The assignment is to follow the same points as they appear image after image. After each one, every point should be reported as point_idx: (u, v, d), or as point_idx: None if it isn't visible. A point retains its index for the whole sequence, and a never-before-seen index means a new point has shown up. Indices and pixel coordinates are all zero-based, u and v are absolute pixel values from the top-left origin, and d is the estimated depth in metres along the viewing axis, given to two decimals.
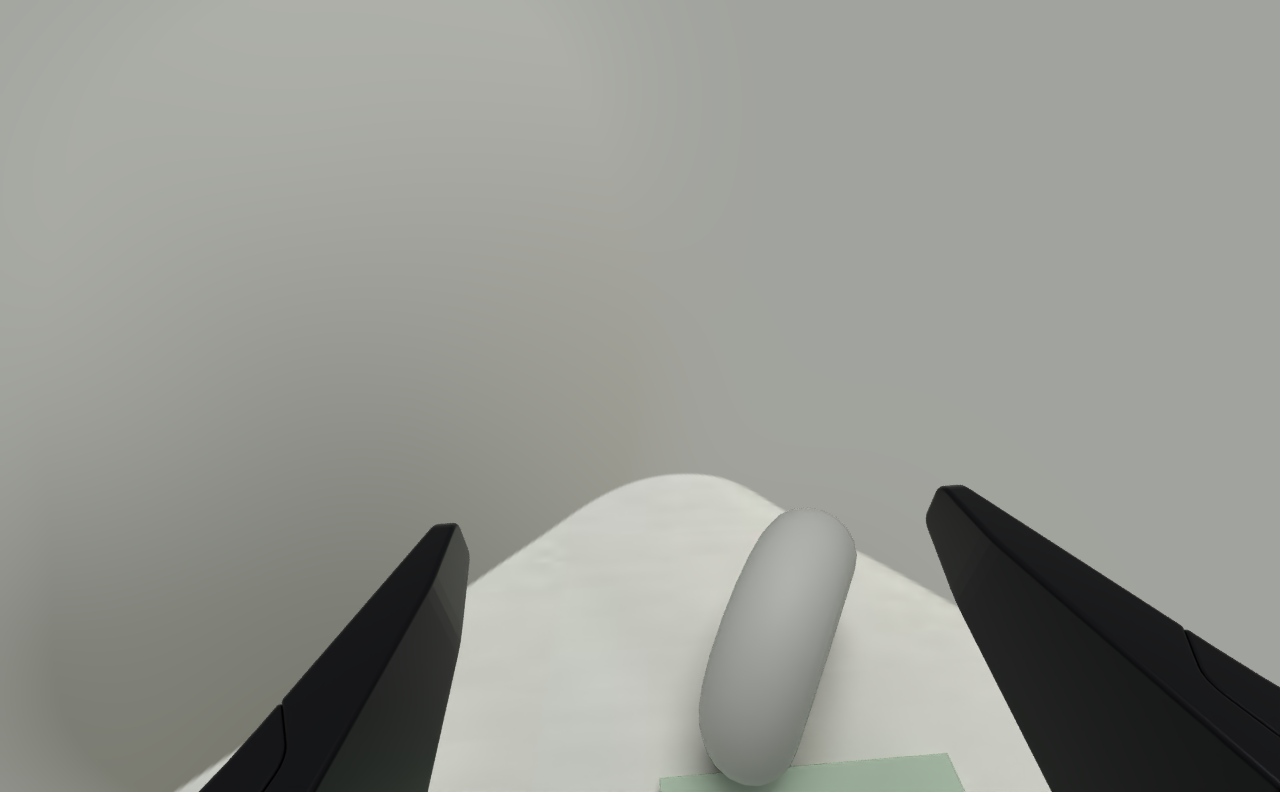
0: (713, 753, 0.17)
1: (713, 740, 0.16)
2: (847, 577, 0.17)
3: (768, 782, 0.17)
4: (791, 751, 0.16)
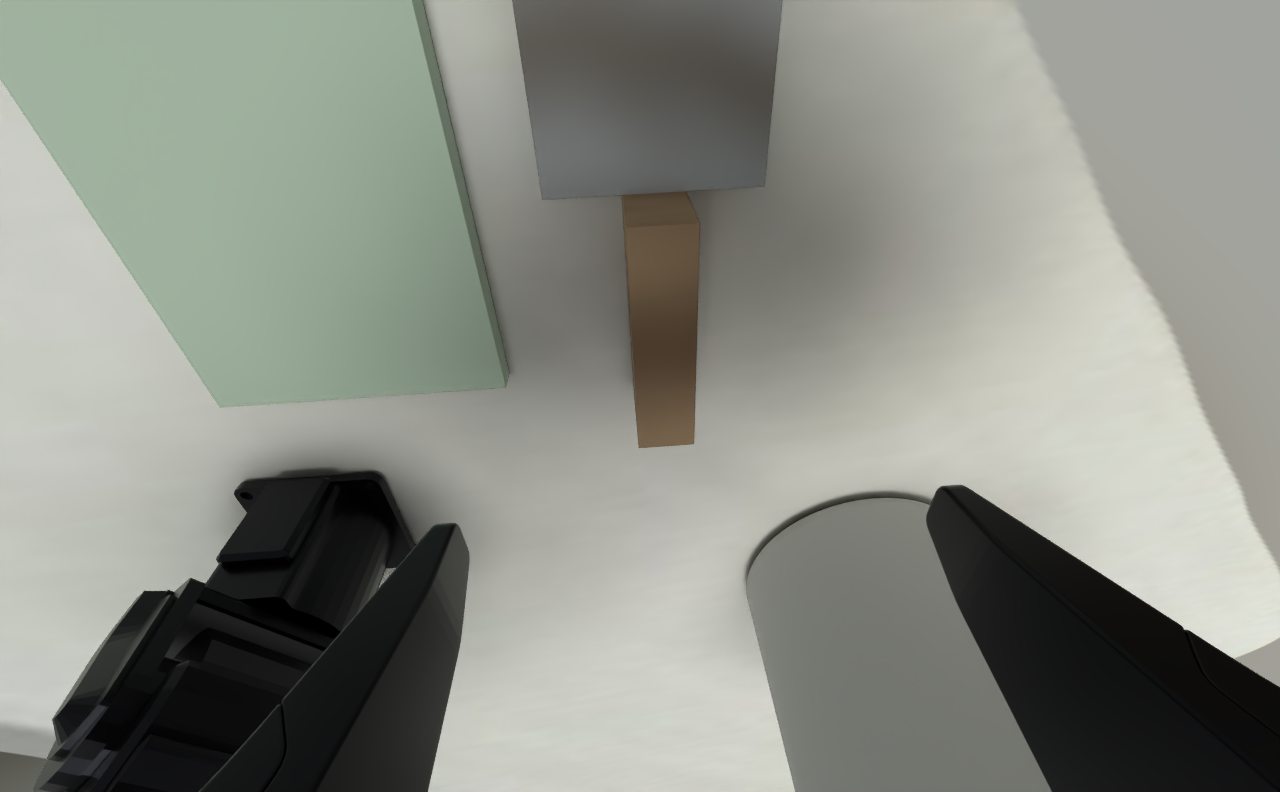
0: None
1: None
2: None
3: None
4: None
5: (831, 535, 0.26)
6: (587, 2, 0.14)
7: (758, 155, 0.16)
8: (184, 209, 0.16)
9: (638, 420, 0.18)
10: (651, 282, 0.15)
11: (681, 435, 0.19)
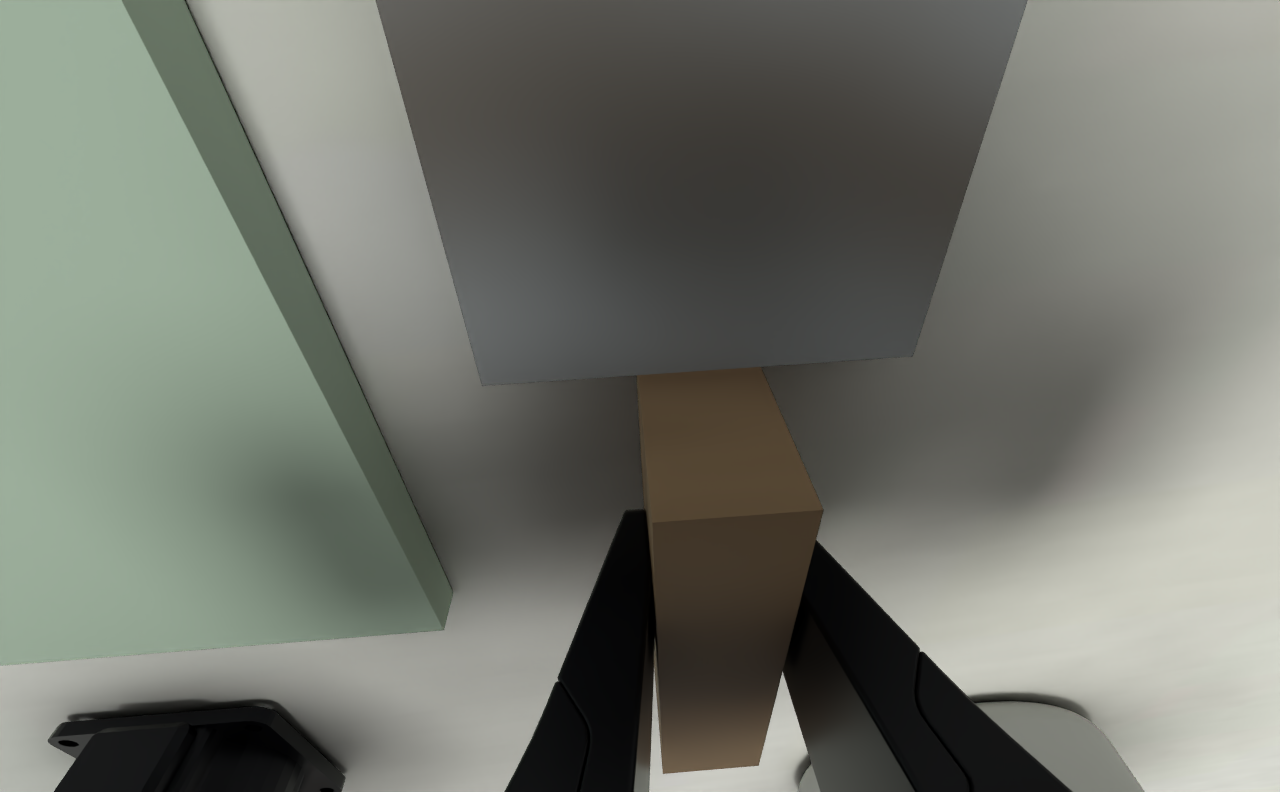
0: None
1: None
2: None
3: None
4: None
5: None
6: None
7: (911, 306, 0.08)
8: None
9: (664, 749, 0.10)
10: (703, 597, 0.07)
11: (738, 759, 0.11)
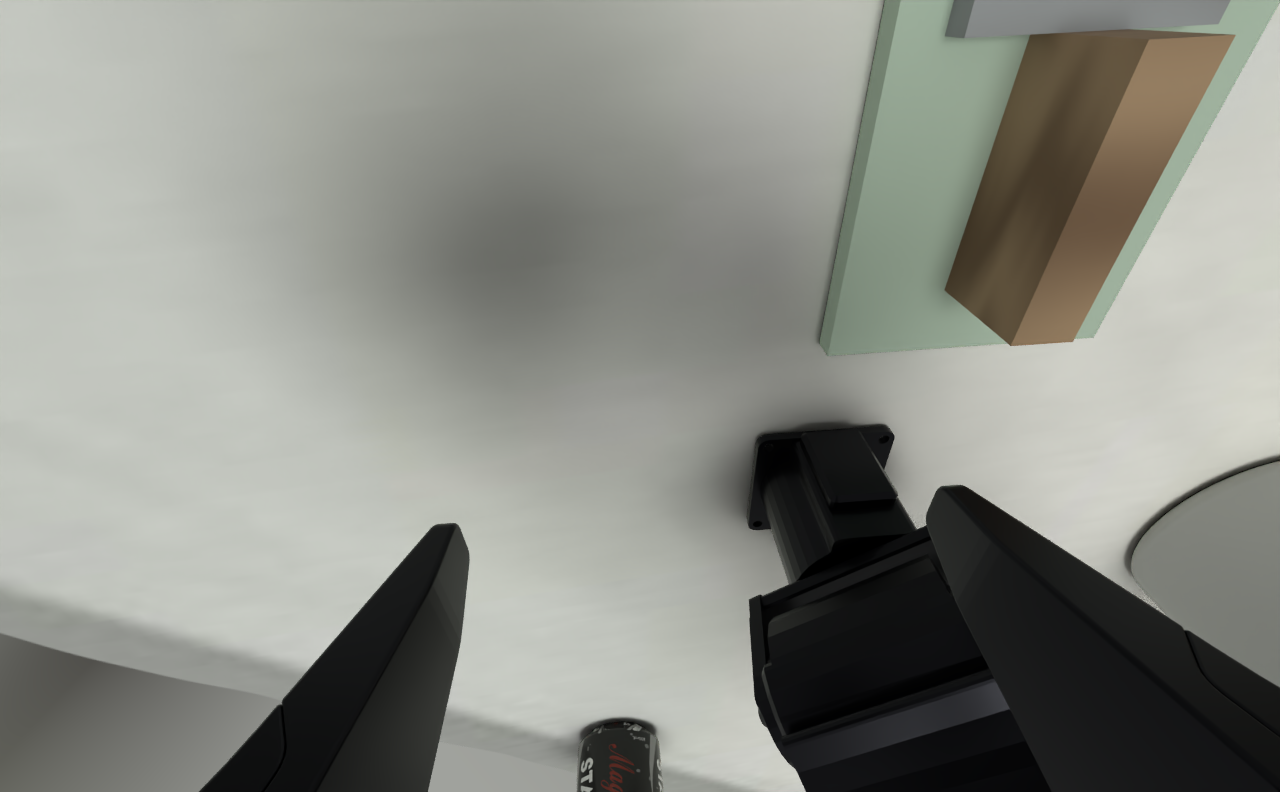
0: None
1: None
2: None
3: None
4: None
5: None
6: None
7: None
8: (952, 155, 0.17)
9: (1028, 309, 0.16)
10: (1138, 118, 0.13)
11: (1065, 330, 0.16)
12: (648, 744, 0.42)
